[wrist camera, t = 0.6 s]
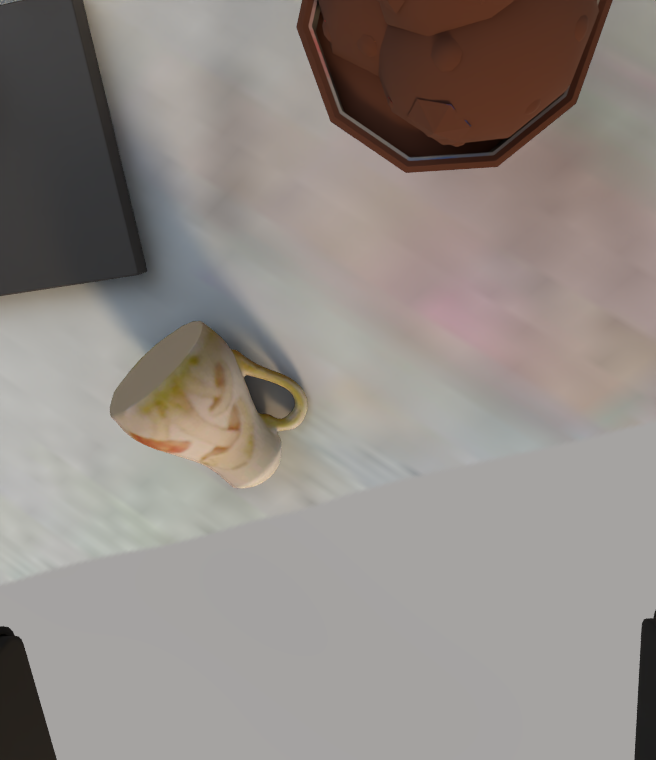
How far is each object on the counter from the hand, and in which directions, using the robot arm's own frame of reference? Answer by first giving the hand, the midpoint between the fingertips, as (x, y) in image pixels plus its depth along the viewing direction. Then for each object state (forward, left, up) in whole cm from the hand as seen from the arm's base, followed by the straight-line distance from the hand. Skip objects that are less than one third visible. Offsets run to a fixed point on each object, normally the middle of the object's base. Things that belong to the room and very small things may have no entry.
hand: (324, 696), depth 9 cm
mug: (+3, -9, -28) cm, 29 cm away
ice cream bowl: (-13, +5, -28) cm, 31 cm away
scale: (-12, -18, -27) cm, 35 cm away
